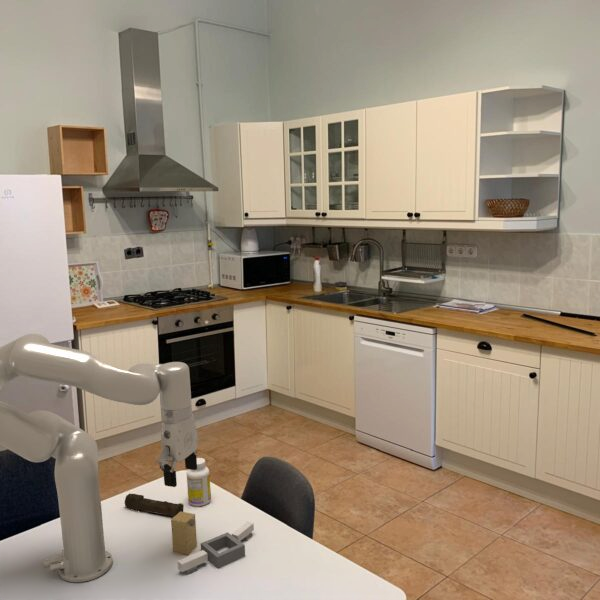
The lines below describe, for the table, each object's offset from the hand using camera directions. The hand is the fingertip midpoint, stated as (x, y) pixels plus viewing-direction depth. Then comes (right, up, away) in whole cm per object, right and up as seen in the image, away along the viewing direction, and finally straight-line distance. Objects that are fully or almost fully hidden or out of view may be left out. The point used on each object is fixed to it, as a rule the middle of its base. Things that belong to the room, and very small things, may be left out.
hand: (181, 477), depth 159 cm
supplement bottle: (0, -15, +28) cm, 32 cm away
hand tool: (-13, -17, +23) cm, 31 cm away
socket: (+11, -20, 0) cm, 22 cm away
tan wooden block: (0, -20, +3) cm, 20 cm away
